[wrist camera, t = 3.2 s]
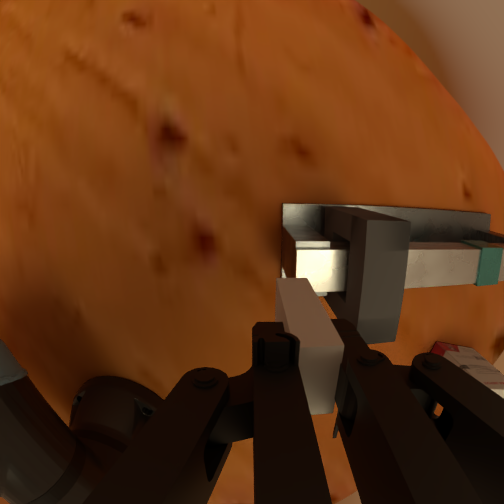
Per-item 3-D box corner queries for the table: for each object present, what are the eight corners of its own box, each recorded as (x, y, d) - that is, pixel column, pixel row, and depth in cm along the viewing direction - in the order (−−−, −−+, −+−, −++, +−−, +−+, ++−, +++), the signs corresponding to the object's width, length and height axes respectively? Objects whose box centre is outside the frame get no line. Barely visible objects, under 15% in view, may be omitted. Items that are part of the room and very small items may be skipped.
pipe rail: (280, 283, 31) (294, 325, 22) (282, 203, 29) (298, 213, 20) (478, 275, 32) (527, 300, 22) (485, 213, 30) (540, 225, 20)
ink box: (418, 371, 34) (461, 425, 23) (435, 339, 33) (486, 388, 22) (458, 376, 35) (500, 421, 24) (474, 347, 34) (521, 389, 23)
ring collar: (321, 292, 28) (354, 345, 19) (325, 206, 27) (367, 219, 17) (351, 291, 28) (394, 341, 19) (357, 207, 27) (411, 221, 17)
